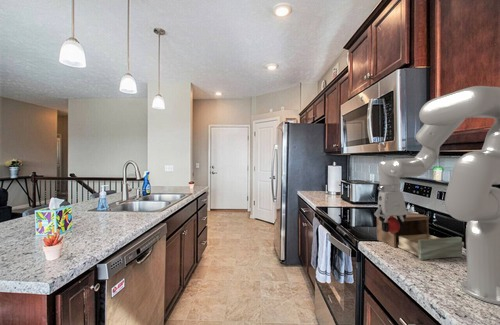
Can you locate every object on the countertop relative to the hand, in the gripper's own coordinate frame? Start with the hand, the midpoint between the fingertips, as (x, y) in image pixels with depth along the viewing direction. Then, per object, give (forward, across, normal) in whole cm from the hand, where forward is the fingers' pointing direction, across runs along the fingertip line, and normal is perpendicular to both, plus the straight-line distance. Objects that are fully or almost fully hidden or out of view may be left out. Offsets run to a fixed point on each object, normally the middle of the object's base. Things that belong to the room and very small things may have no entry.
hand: (392, 230), depth 102 cm
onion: (+2, 0, 0) cm, 2 cm away
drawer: (+10, +15, -1) cm, 18 cm away
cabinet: (+10, +15, +13) cm, 22 cm away
